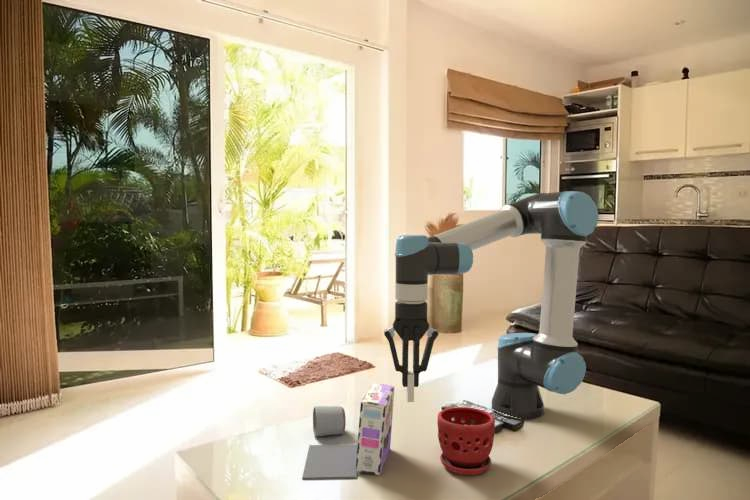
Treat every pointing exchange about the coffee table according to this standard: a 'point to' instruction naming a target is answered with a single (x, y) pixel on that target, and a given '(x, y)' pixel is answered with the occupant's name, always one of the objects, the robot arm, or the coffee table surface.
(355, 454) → the mat
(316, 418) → the ceramic mug
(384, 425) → the candy box
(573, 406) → the coffee table surface
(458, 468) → the plant pot
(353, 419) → the coffee table surface
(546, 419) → the coffee table surface
